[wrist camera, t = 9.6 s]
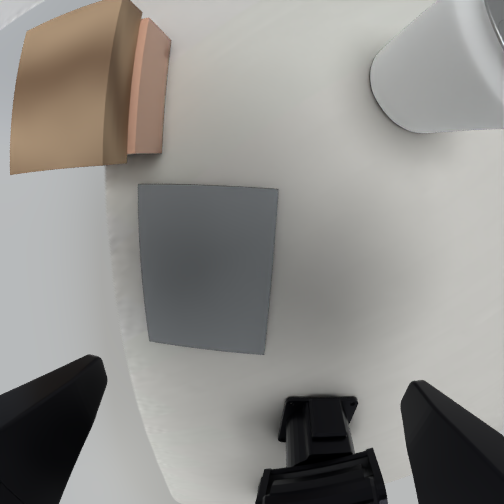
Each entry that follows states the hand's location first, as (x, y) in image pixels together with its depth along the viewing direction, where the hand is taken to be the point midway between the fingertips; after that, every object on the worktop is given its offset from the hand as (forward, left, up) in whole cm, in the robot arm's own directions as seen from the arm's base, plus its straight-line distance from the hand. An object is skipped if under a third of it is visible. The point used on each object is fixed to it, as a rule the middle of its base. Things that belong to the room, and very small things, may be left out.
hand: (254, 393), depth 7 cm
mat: (-2, +4, -12) cm, 13 cm away
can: (+12, -9, -13) cm, 20 cm away
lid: (+10, +11, -8) cm, 17 cm away
